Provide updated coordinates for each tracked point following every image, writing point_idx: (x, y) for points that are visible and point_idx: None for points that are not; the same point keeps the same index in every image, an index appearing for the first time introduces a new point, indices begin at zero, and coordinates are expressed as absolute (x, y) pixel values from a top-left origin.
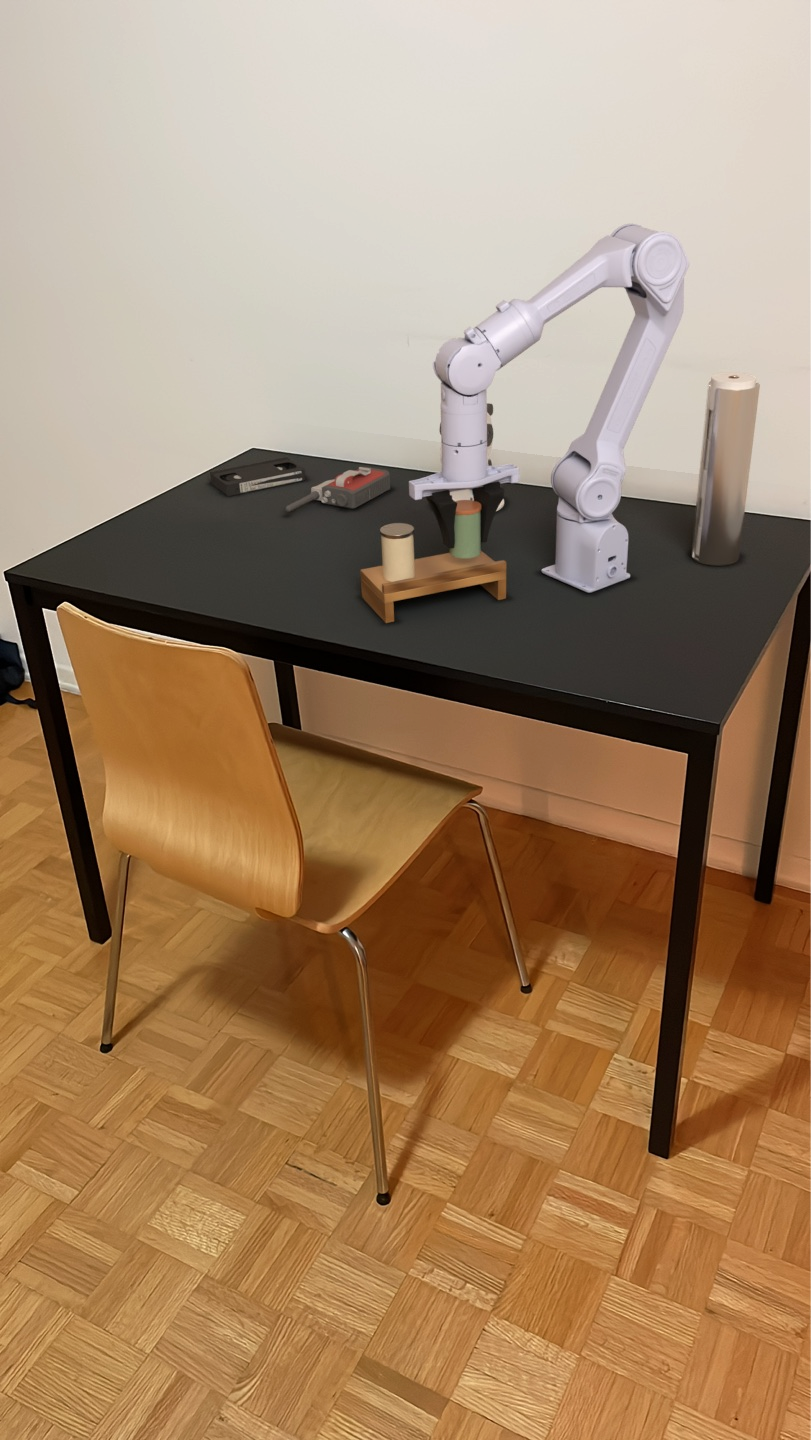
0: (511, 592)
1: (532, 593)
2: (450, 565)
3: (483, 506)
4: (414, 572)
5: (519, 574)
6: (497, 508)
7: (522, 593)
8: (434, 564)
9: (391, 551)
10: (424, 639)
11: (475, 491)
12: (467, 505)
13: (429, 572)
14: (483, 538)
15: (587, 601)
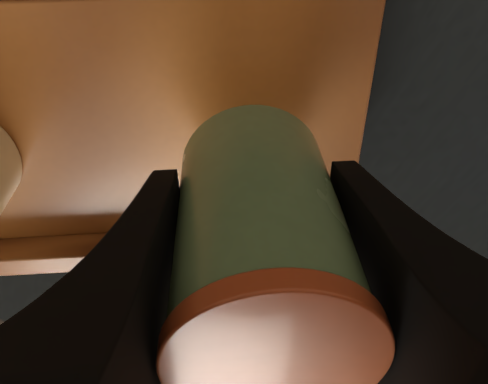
0: (364, 144)
1: (408, 169)
2: (186, 134)
3: (384, 381)
4: (15, 187)
5: (478, 28)
6: None
7: (385, 160)
8: (123, 99)
9: None
10: (55, 281)
11: (444, 371)
12: (293, 374)
13: (86, 164)
14: None
15: (481, 246)
